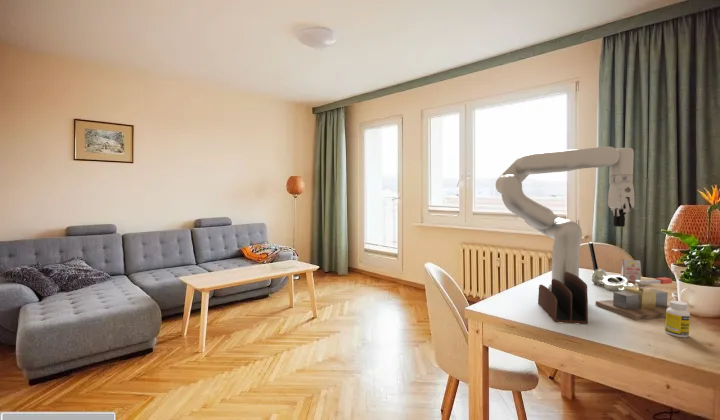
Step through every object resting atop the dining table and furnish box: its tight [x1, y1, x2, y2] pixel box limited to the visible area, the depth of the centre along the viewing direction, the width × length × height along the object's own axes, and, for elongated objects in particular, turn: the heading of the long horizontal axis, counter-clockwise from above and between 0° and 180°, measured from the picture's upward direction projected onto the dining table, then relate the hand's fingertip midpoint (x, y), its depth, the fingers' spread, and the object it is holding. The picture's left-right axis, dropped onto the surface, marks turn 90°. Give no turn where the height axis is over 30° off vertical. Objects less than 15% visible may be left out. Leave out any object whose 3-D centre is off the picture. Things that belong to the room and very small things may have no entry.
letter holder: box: [537, 272, 589, 325], centre depth 127 cm, size 10×20×14 cm, turn 169°
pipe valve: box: [612, 285, 669, 310], centre depth 129 cm, size 18×6×8 cm, turn 102°
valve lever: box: [634, 276, 673, 287], centre depth 131 cm, size 15×3×2 cm, turn 104°
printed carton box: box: [620, 259, 642, 283], centre depth 170 cm, size 4×7×10 cm, turn 64°
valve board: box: [595, 299, 671, 321], centre depth 130 cm, size 22×16×2 cm
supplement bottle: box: [664, 300, 691, 338], centre depth 108 cm, size 5×5×10 cm
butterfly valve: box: [588, 241, 634, 292], centre depth 158 cm, size 9×20×17 cm
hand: (619, 226), depth 142 cm, fingers closed
